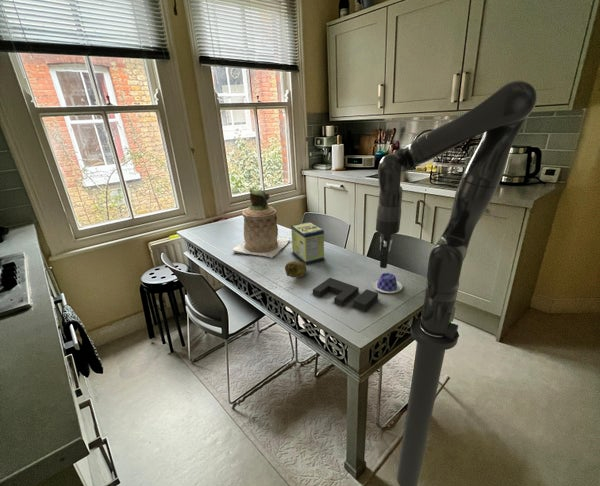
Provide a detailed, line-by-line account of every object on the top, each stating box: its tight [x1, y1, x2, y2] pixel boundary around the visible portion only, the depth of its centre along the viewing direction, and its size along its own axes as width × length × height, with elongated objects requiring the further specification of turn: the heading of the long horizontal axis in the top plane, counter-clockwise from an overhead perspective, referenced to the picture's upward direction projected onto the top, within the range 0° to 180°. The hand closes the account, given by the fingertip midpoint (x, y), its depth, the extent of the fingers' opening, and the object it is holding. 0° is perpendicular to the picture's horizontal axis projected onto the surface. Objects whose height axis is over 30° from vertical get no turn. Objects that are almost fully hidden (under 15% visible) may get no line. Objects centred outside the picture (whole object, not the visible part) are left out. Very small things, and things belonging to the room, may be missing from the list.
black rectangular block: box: [352, 288, 379, 312], centre depth 119 cm, size 5×10×3 cm, turn 140°
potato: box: [284, 260, 308, 278], centre depth 140 cm, size 8×13×8 cm, turn 131°
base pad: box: [312, 277, 360, 307], centre depth 127 cm, size 14×12×2 cm
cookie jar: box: [231, 189, 290, 259], centre depth 166 cm, size 25×25×32 cm
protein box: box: [290, 221, 325, 265], centre depth 157 cm, size 10×16×16 cm
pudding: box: [371, 272, 403, 294], centre depth 129 cm, size 12×12×5 cm
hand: (384, 262), depth 109 cm, fingers open, 8 cm apart
